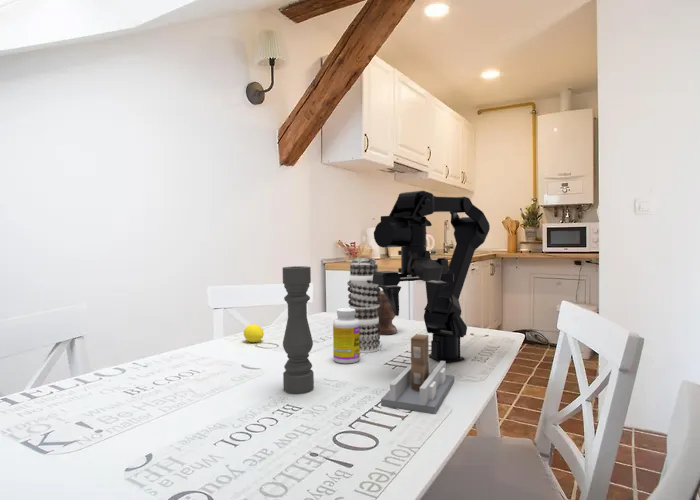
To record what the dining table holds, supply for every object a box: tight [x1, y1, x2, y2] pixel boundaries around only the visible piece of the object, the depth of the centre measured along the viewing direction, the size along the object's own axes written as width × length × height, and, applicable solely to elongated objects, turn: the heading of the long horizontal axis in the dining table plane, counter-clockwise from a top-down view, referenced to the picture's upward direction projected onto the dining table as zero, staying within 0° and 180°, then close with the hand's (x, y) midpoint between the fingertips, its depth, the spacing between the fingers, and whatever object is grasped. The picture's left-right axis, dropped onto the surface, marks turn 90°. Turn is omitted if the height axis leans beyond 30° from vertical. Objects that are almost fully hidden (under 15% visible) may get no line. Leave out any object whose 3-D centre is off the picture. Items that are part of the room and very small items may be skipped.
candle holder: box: [282, 265, 315, 395], centre depth 90 cm, size 6×6×25 cm
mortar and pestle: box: [377, 285, 398, 336], centre depth 139 cm, size 12×9×20 cm
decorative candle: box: [347, 257, 381, 354], centre depth 121 cm, size 9×9×25 cm
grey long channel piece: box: [380, 361, 455, 415], centre depth 87 cm, size 18×10×4 cm, turn 156°
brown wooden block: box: [410, 333, 430, 390], centre depth 86 cm, size 5×2×10 cm, turn 157°
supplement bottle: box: [332, 307, 361, 364], centre depth 110 cm, size 7×7×13 cm
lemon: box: [243, 323, 265, 344], centre depth 130 cm, size 7×5×5 cm
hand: (414, 314), depth 101 cm, fingers open, 9 cm apart
